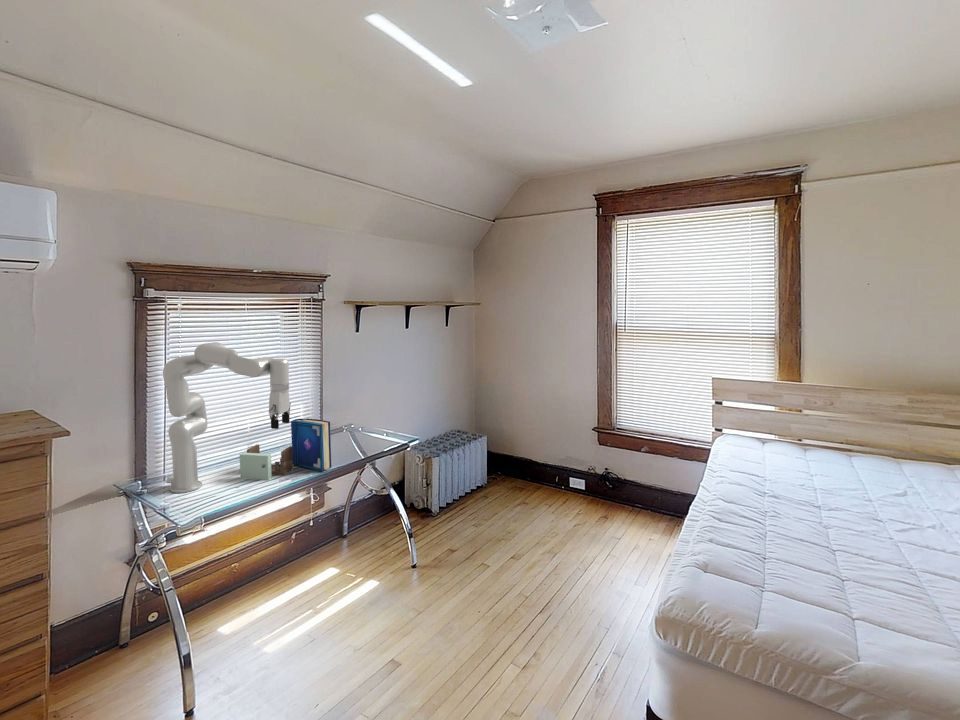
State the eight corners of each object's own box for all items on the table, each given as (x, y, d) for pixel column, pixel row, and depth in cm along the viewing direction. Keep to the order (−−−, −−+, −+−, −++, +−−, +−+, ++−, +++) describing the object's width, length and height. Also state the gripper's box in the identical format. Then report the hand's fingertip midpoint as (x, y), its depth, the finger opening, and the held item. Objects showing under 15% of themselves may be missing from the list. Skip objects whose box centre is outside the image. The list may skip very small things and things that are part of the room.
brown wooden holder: (247, 473, 239) (246, 449, 238) (257, 467, 248) (256, 444, 247) (284, 475, 238) (284, 451, 236) (292, 469, 247) (292, 446, 245)
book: (289, 465, 251) (288, 418, 248) (299, 461, 258) (299, 416, 255) (322, 472, 243) (322, 424, 240) (332, 468, 250) (331, 421, 246)
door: (239, 479, 231) (238, 454, 230) (243, 476, 235) (243, 452, 234) (267, 480, 230) (266, 456, 229) (271, 478, 234) (270, 454, 233)
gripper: (281, 383, 219) (281, 420, 221) (260, 390, 202) (261, 430, 204) (297, 384, 218) (297, 421, 220) (278, 391, 201) (279, 431, 203)
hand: (280, 425), depth 212 cm, fingers open, 9 cm apart
